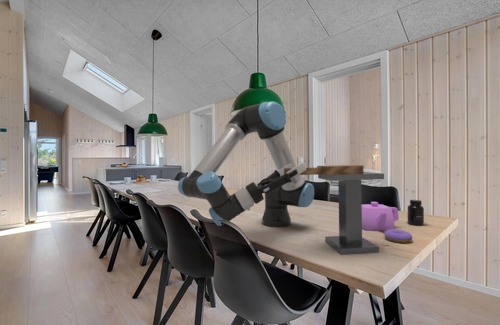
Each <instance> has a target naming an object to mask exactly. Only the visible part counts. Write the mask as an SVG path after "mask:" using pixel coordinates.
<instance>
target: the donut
mask: <svg viewBox="0 0 500 325" xmlns="http://www.w3.org/2000/svg"><path fill="white" fill-rule="evenodd" d="M383 235H384V238H385V239H386V240H388V241H389V242H393V243H398V244H399V243H400V244H408V243H411V241H413V236H412V233H410V232H409V231H405V230H401V229H398V228H397V229H395V228H394V229H389V230H387V231H384V233H383Z"/></svg>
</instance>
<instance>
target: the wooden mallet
mask: <svg viewBox="0 0 500 325" xmlns="http://www.w3.org/2000/svg"><path fill="white" fill-rule="evenodd" d="M305 168H306V169H307V170H305V171H304V172H302V173H300V174H299V175H302V176H303V175H304V176H307V175H309V176H311V175H312V176H314V175H316V176H318V175H320V174H324V175H340V174H364V172H365V171H364V165H360V164H359V165H357V164H355V165H354V164H342V165H341V164H339V165H317V166H316V167H305ZM291 169H293V168H284V174H286V172H288V171H290V170H291Z"/></svg>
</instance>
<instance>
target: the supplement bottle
mask: <svg viewBox="0 0 500 325" xmlns="http://www.w3.org/2000/svg"><path fill="white" fill-rule="evenodd" d="M424 218H425V208H424V207H423V205H422V200H420V199H409V205H407V224H408V225H410V226H417V227H421V226H424V225H425V224H424V222H425V219H424Z"/></svg>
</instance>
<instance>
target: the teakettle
mask: <svg viewBox="0 0 500 325" xmlns="http://www.w3.org/2000/svg"><path fill="white" fill-rule="evenodd" d="M399 219H400V218H399V209H398V207H393V206H387V205H384V204H382V203H381V204H380V203H379V202H378V201H370V204H369V203H368V204H362V230H364V231H370V232H371V231H372V232H374V231H375V232H385V231H387V230H389V229H395V222H396V221H398V220H399Z"/></svg>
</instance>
